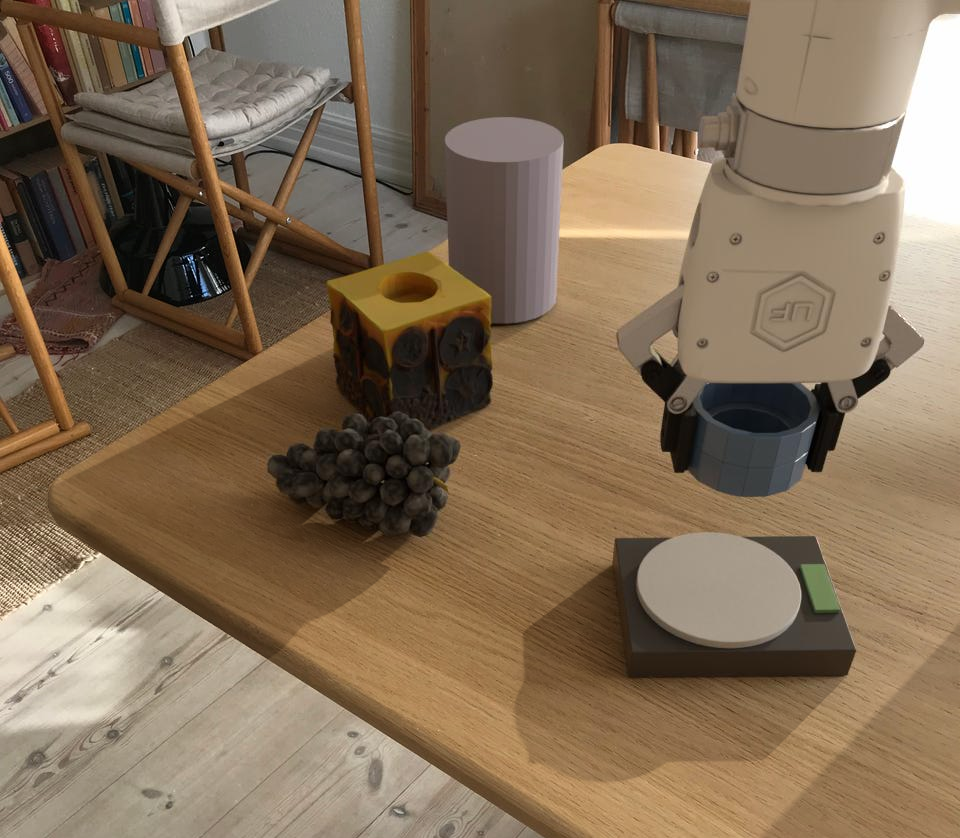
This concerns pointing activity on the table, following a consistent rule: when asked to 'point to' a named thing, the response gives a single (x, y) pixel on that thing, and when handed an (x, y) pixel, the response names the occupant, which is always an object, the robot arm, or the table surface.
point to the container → (506, 212)
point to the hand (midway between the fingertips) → (743, 456)
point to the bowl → (752, 437)
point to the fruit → (372, 473)
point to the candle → (412, 340)
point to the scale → (729, 607)
